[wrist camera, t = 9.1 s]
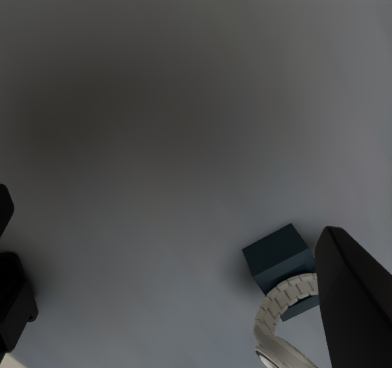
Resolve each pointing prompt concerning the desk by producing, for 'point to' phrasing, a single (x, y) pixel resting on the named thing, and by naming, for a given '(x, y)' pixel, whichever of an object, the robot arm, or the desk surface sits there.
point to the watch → (282, 292)
